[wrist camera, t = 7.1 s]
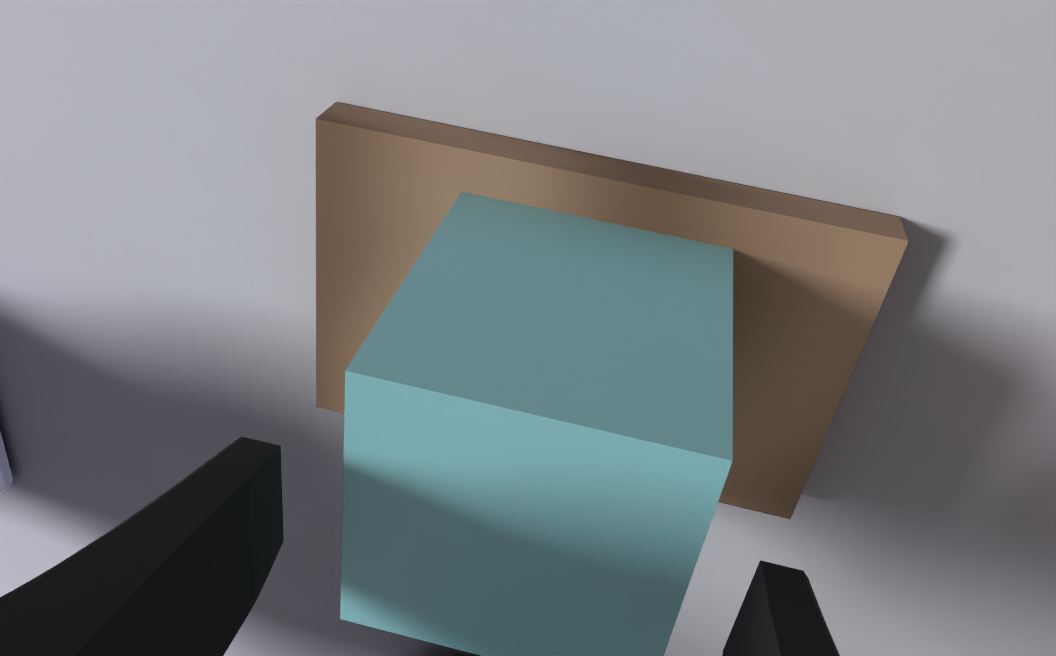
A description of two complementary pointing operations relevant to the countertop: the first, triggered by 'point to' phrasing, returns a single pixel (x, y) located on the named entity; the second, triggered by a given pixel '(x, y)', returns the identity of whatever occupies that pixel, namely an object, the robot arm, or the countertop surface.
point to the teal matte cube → (538, 435)
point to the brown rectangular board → (630, 200)
